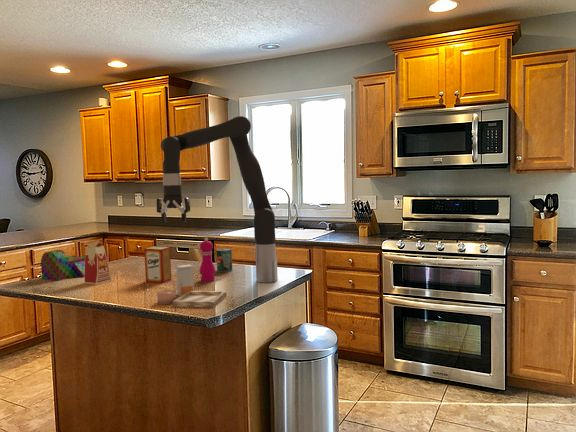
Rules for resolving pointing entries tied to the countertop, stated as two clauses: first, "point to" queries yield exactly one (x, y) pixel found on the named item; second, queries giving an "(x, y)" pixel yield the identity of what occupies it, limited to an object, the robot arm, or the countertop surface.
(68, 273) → the rainbow checkered teapot
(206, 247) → the pepper mill
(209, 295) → the maple tray
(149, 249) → the baking soda box
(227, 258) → the canned tomato
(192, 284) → the skincare box
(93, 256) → the milk carton
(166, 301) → the tan rounded blob
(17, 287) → the countertop surface
